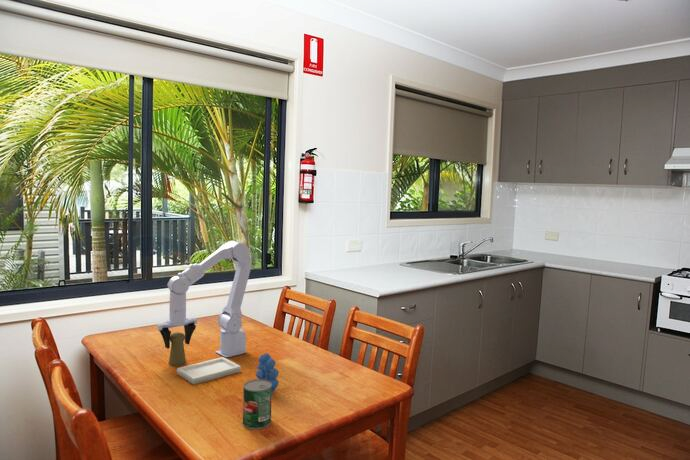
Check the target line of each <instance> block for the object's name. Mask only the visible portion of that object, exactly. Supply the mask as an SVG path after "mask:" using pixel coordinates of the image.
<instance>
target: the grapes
mask: <svg viewBox="0 0 690 460" xmlns="http://www.w3.org/2000/svg"><path fill="white" fill-rule="evenodd" d="M258 362H259V363H258V365H257V371H256V373H255V376H256V377H257V379H262V380H267V381H270V382H271V383H272V394H274V392H275V391H276V389H277V388H278V386H279V383H280V382H279V380H278V379H277V378H278V376H279V370H278V369H276V368H275V367H276V361H275V360H274V358H272V356H271V354H269V353H268V352H265V353H264V354H261V355H260V356H259V358H258Z"/></svg>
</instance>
